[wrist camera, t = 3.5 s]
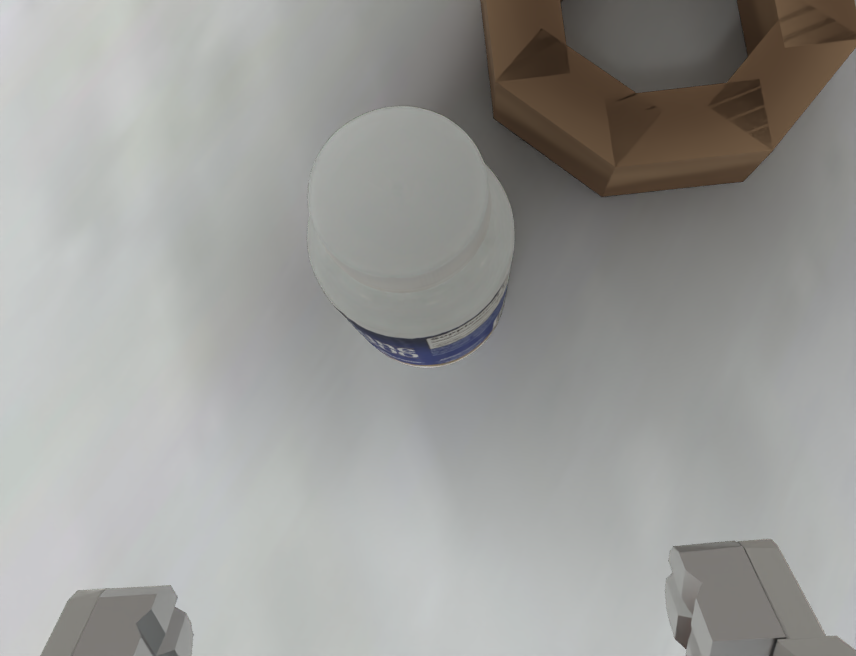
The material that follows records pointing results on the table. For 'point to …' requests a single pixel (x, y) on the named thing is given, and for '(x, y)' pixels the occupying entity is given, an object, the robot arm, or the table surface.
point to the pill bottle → (410, 235)
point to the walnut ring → (661, 96)
